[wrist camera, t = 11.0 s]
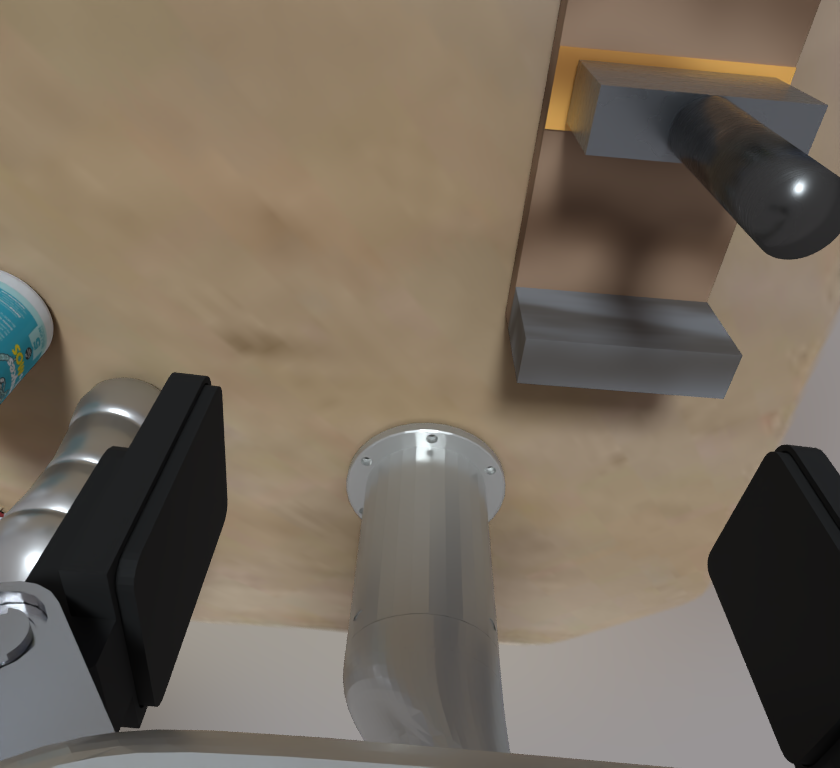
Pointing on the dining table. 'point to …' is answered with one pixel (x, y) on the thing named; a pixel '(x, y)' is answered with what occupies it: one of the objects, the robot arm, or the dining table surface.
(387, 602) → the robot arm
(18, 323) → the pill bottle
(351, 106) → the dining table surface
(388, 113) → the dining table surface
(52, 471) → the plastic bottle
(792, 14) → the press base
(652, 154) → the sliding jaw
